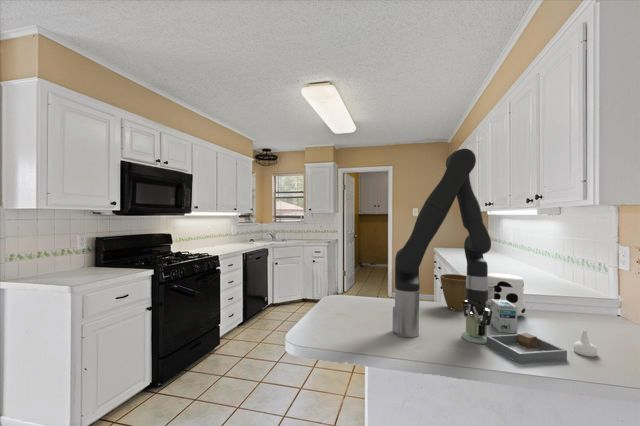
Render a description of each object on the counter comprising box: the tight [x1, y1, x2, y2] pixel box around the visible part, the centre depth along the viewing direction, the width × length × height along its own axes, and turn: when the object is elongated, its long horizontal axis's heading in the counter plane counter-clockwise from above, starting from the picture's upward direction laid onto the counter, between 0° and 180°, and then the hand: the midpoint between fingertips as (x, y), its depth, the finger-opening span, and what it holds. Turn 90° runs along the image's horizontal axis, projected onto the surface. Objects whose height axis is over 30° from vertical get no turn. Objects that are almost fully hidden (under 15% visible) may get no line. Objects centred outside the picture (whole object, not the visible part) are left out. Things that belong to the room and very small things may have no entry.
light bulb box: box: [490, 299, 518, 334], centre depth 127 cm, size 11×7×11 cm, turn 168°
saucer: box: [461, 331, 488, 345], centre depth 116 cm, size 10×10×1 cm
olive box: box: [465, 316, 488, 337], centre depth 116 cm, size 5×5×6 cm
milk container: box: [485, 273, 526, 318], centre depth 147 cm, size 17×17×18 cm
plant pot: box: [439, 273, 468, 311], centre depth 155 cm, size 15×15×16 cm
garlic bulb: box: [572, 330, 599, 358], centre depth 105 cm, size 6×6×8 cm
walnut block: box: [517, 332, 538, 350], centre depth 110 cm, size 4×4×4 cm
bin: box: [486, 333, 568, 364], centre depth 105 cm, size 18×15×3 cm
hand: (476, 332), depth 116 cm, fingers closed on olive box, 5 cm apart
